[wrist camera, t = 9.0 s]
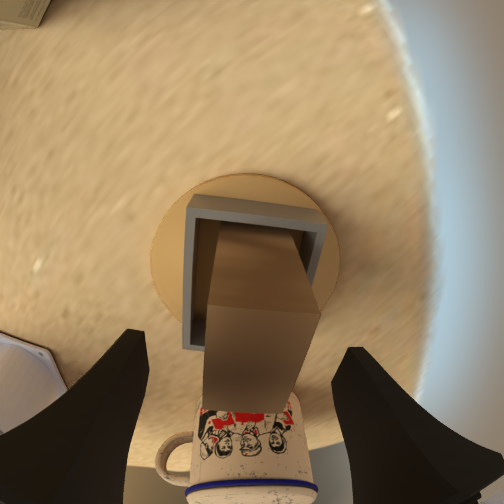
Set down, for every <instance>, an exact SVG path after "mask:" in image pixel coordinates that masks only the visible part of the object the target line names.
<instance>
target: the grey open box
mask: <svg viewBox="0 0 504 504" xmlns="http://www.w3.org/2000/svg"><path fill="white" fill-rule="evenodd" d="M221 220H222V221H231V222H239V223H248V224H256V225H264V226H272V227H280V228H288V229H289V231H290V233H291V236H292V238H293V241H294V243H295V246H296V248H297V251H298V253H299V256H300V259H301V261H302V264H303V267H304V269H305V272H306V274H307V277H308V280H309V282H310V285H311V288H312V291H313V293H314V296H315V299H316V301H317V304H318V307H319V310H321V309H322V308H323V307H324V305H325V304H326V303H327V301H328V299H329V298H330V296H331V294H332V292H333V290H334V287H335V285H336V282H337V278H338V274H339V267H340V251H339V246H338V241H337V237H336V235H335V232H334V229H333V227H332V225H331V224H330V222H329V220H328V218H327V217H326V216H325V214H324V213H323V212H322V210H321V209H320V208H319V207H318V205H317V204H316V203H315V202H314V201H313V200H312V199H311V198H310V197H309V196H308V195H306V194H305V193H304V192H302V191H301V190H299V189H298V188H297V187H295V186H293V185H291V184H289V183H287V182H285V181H282V180H279V179H277V178H274V177H270V176H265V175H260V174H247V173H244V174H231V175H226V176H221V177H217V178H214V179H211V180H209V181H206V182H204V183H202V184H200V185H198V186H196V187H194V188H193V189H191V190H190V191H188V192H187V193H186V194H184V195H183V196H182V197H181V198H180V199H179V200H178V201H177V202H176V203H175V204H174V205H173V206H172V207H171V209H170V210H169V211H168V212H167V214H166V215H165V217H164V218H163V220H162V221H161V223H160V225H159V227H158V229H157V231H156V234H155V236H154V239H153V243H152V247H151V254H150V267H151V275H152V279H153V283H154V286H155V288H156V291H157V293H158V295H159V297H160V299H161V300H162V302H163V304H164V305H165V306H166V307H167V309H168V310H169V311H170V312H171V313H172V314H173V315H174V316H175V317H176V318H177V319H178V320H179V321H180V322H181V323H182V337H183V349H188V350H196V351H205V334H206V318H207V304H208V298H209V291H210V285H211V278H212V272H213V266H214V260H215V254H216V248H217V242H218V236H219V230H220V224H221Z"/></svg>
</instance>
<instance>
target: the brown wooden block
mask: <svg viewBox="0 0 504 504" xmlns="http://www.w3.org/2000/svg"><path fill="white" fill-rule="evenodd" d="M320 316H321V312H320V310H319V307H318V304H317V301H316V299H315V296H314V293H313V291H312V288H311V285H310V282H309V280H308V277H307V274H306V272H305V269H304V267H303V264H302V261H301V259H300V256H299V253H298V251H297V248H296V246H295V243H294V241H293V238H292V236H291V233H290V231H289V229H288V228H280V227H272V226H264V225H256V224H248V223H239V222H231V221H222V220H221V224H220V230H219V236H218V242H217V248H216V254H215V260H214V266H213V272H212V278H211V285H210V291H209V298H208V304H207V318H206V334H205V351H204V371H203V394H202V409H203V410H213V411H225V412H240V413H263V414H282V413H283V411H284V408H285V406H286V404H287V401H288V399H289V397H290V394H291V392H292V390H293V387H294V385H295V382H296V380H297V377H298V375H299V372H300V370H301V367H302V365H303V362H304V360H305V357H306V354H307V352H308V349H309V347H310V344H311V341H312V338H313V336H314V333H315V330H316V327H317V325H318V322H319V319H320Z"/></svg>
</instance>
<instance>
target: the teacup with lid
mask: <svg viewBox="0 0 504 504" xmlns="http://www.w3.org/2000/svg"><path fill="white" fill-rule="evenodd" d="M190 442H193V445H192V457H191V468H190V476H175V475H171V474H169V473H168V472H167V469H166V464H167V460H168V457H169V455H170V454H171V452H172V451H173V450H174V449H175V448H176V447H178V446H179V445H181V444H184V443H190ZM155 467H156V470H157V472H158V474H159V475H160V476H161V477H162V478H163V479H164V480H166V481H167V482H169V483H171V484H174V485H179V486H189V488H187V489H186V491H185V495H186V497H187V501H188V503H189V504H311V503H312V502H313V501H314V500H315V499H316V496H317V492H318V487H317V486H316V485H315V484H314V483H313V477H312V471H311V465H310V459H309V453H308V447H307V441H306V435H305V430H304V424H303V418H302V413H301V407H300V402H299V400H298V398H297V397H296V395H295V394H294V393H293V392H291V394H290V397H289V399H288V401H287V404H286V406H285V408H284V411H283V413H282V414H263V413H240V412H225V411H213V410H203V409H202V396H201V397H200V399H199V400H198V402H197V406H196V415H195V424H194V431H191V432H182V433H178V434H175V435H173V436H171V437H170V438H168V439H167V440H166V441H165V442H164V443H163V444H162V445H161V447H160V448H159V450H158V452H157V454H156V458H155Z"/></svg>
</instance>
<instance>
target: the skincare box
mask: <svg viewBox="0 0 504 504" xmlns="http://www.w3.org/2000/svg"><path fill="white" fill-rule="evenodd" d="M50 1H51V0H0V29H18V28H37V27H38V26H39V24H40V21H41V19H42V17H43V15H44V13H45V11H46V9H47V7H48V5H49V3H50Z"/></svg>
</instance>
